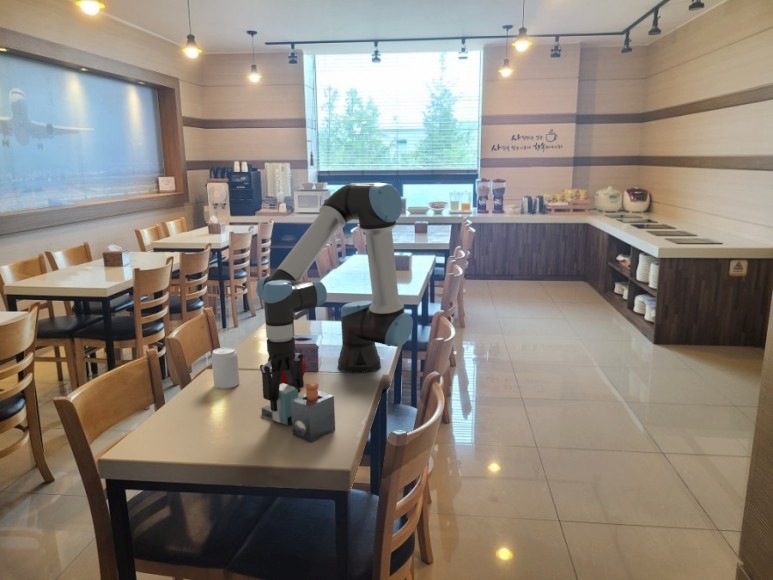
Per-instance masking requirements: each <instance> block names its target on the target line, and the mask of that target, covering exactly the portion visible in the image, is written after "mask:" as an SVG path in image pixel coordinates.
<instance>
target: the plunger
mask: <svg viewBox="0 0 773 580" xmlns="http://www.w3.org/2000/svg"><path fill="white" fill-rule="evenodd" d="M304 387H305V391H306V393H305V394H307V401H310V402H314V401H316V400H318V390H319V383H318V382H308V383H306V384H305V386H304Z"/></svg>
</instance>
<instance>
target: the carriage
mask: <svg viewBox="0 0 773 580" xmlns="http://www.w3.org/2000/svg"><path fill="white" fill-rule="evenodd" d="M297 397H299V393H298V389H296V388H295V387H293V386H290V385H289V384H284V383H280V387H279V394H278V399H280V402H281V417H282V422H280V424H283V425H285V426H288V425H287V424H288V418H289V417H291V416H292V415H291V400H292V399H295V398H297ZM271 413H272V418H271V420H273V411H271Z"/></svg>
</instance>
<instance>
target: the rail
mask: <svg viewBox="0 0 773 580" xmlns="http://www.w3.org/2000/svg"><path fill="white" fill-rule="evenodd" d="M261 415H263V416H265V417H268V418H270V419H272V413H271V406H270V405H269V404H268V405H265V406H263V407H261ZM286 426H289V427H292V416H291V417H289V418H288V424H287V425H286Z"/></svg>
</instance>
